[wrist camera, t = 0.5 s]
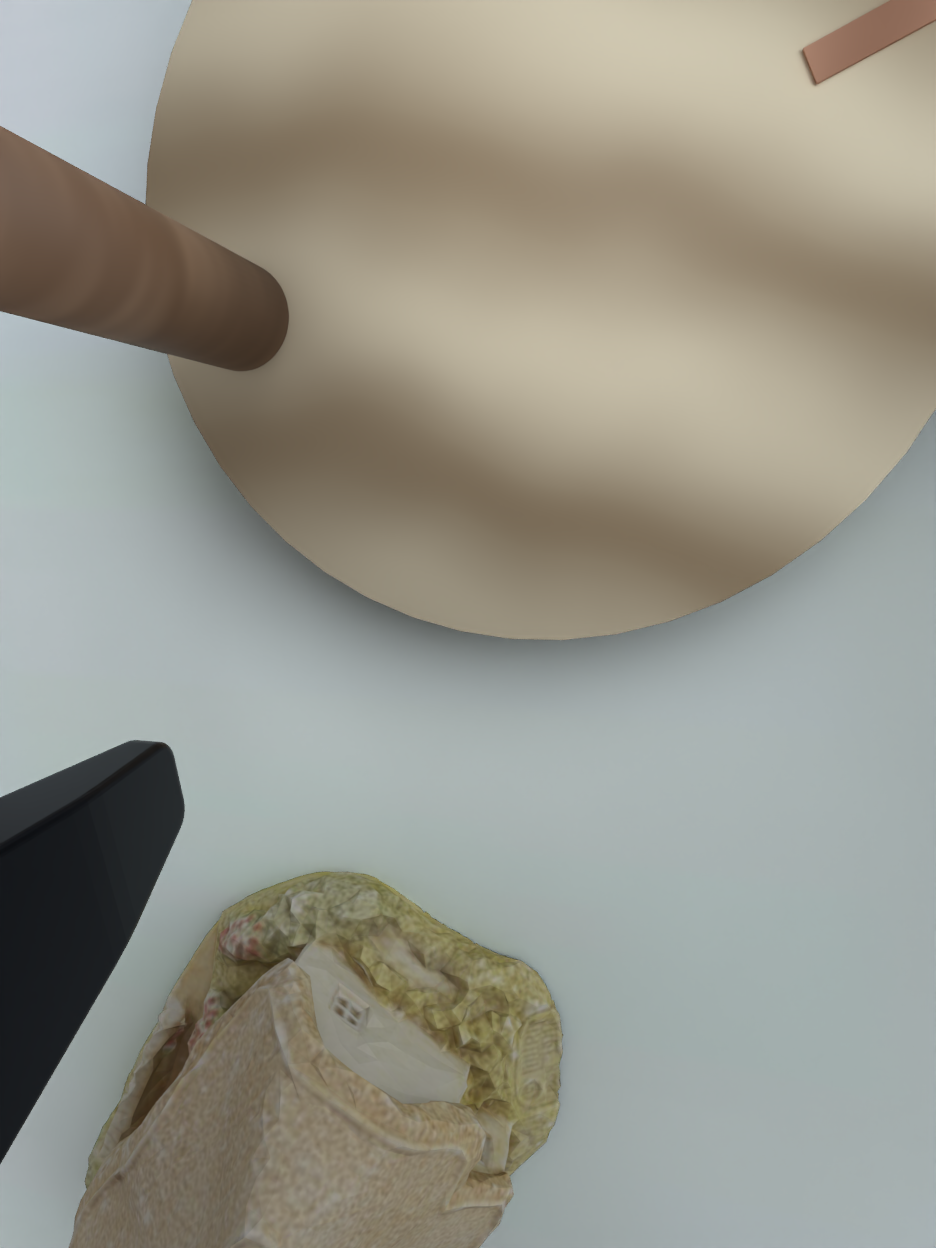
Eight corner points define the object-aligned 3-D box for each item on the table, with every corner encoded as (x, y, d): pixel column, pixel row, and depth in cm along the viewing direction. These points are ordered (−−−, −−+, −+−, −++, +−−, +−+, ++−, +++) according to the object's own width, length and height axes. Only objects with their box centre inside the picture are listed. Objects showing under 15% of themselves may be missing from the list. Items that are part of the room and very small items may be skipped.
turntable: (850, 699, 21) (1056, 930, 10) (148, 548, 24) (-253, 604, 13) (1094, -188, 17) (1798, -1245, 7) (233, -234, 20) (-224, -1011, 10)
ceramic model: (330, 783, 25) (128, 976, 15) (634, 1050, 24) (623, 1424, 15) (77, 1087, 29) (-217, 1400, 19) (337, 1326, 28) (172, 1774, 18)
